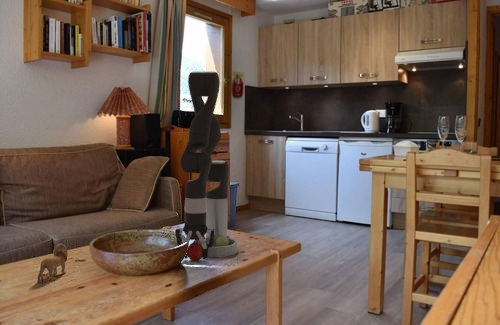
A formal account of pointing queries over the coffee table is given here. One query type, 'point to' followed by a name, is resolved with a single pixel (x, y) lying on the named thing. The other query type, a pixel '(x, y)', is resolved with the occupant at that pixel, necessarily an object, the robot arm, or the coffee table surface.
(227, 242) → the lime
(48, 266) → the lion figurine
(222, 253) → the bowl
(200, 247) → the onion
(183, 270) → the coffee table surface
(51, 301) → the coffee table surface
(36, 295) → the coffee table surface
